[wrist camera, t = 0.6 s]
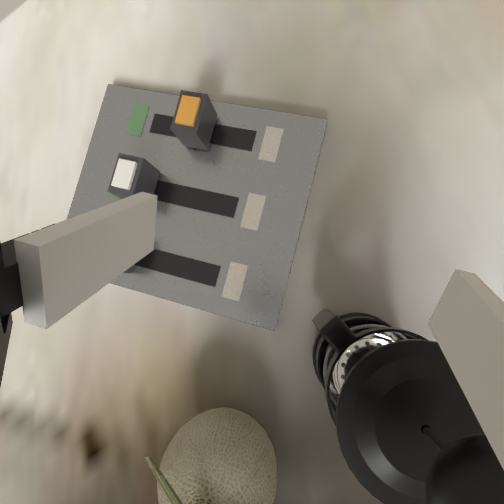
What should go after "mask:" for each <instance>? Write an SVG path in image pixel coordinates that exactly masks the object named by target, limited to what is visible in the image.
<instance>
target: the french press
mask: <svg viewBox="0 0 504 504" xmlns="http://www.w3.org/2000/svg"><path fill="white" fill-rule="evenodd" d="M312 321H313V323H314V325H315V326H316V328H317V330H318V331H319V335H318V336H317V338H316V341H315V344H314V349H313V364H314V368H315V372H316V374H317V377H318V379H319V381H320V382H321V384H322V385H323V387H324V389H325V394H326V400H327V403H328V407H329V411H330V414H331V417H332V419H333V421H334V423H335V425H336V430H337V435H338V439H339V443H340V447H341V451H342V453H343V455H344V457H345V459H346V462H347V464H348V466H349V468H350V469H351V471H352V472H353V474H354V475H355V476H356V478H357V479H358V481H359V482H360V483H361V484H362V485H363V486H364V487H365V488H366V489H367V490H368V491H369V492H370V493H371V494H372V495H373V496H374V497H376V498H377V499H378V500H380V501H381V502H383V503H384V504H504V470H503V468H502V466H501V464H500V462H499V460H498V458H497V456H496V454H495V452H494V450H493V449H492V447H491V445H490V443H489V441H488V439H487V437H486V435H485V433H484V431H483V429H482V427H481V425H480V423H479V421H478V420H477V418H476V416H475V414H474V412H473V410H472V408H471V406H470V404H469V402H468V400H467V398H466V396H465V394H464V392H463V391H462V389H461V387H460V385H459V383H458V381H457V379H456V377H455V375H454V373H453V371H452V369H451V367H450V365H449V363H448V361H447V360H446V358H445V356H444V354H443V352H442V350H441V348H440V346H439V344H438V342H434V341H429V340H427V339H425V338H423V337H422V336H420V335H417V334H414V333H412V332H409V331H406V330H403V329H399V328H393V327H391V326H390V325H388V324H387V323H386V322H384V321H382V320H381V319H379V318H377V317H374V316H371V315H369V314H363V313H349V314H345V315H341V316H339V317H338V316H337V315H335V314H333V313H332V312H330V311H328V310H327V309H324V310H323V311H321V312H320V313H319V314H318V315H317V316H316V317H315V318H314V319H313V320H312ZM350 326H355V327H352V328H350V329H349V327H350ZM328 344H330V345H331V346H330V347H329V349H328V351H327V354H326V349H327V346H328ZM325 356H326V357H325Z"/></svg>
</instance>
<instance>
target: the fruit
mask: <svg viewBox="0 0 504 504" xmlns="http://www.w3.org/2000/svg"><path fill="white" fill-rule="evenodd" d="M144 459H145V460H146V462H147V464H148V465H149V467H150V469H151V470H152V472H153V474H154V475H155V477H156V479H157V496H158V502H159V504H273V503H274V499H275V496H276V491H277V483H278V482H277V479H278V469H277V461H276V456H275V451H274V448H273V444H272V443H271V440H270V438H269V437H268V435H267V433H266V431H265V429H264V428H263V427H262V426H261V425H260V424H259V423H258V422H257V421H256V420H255V419H254V418H252V417H251V416H249V415H248V414H246V413H244V412H242V411H240V410H237V409H233V408H214V409H210V410H207V411H204V412H202V413H200V414H198V415H196V416H195V417H193V418H192V419H190V420H189V421H188V422H187V423H185V424H184V425H183V426H182V427H181V428H180V429H179V431H178V432H177V433H176V434H175V435H174V437H173V438H172V440H171V441H170V443H169V445H168V447H167V448H166V450H165V452H164V455H163V457H162V460H161V464H160V468H158V467H157V466H156V464H155V463H154V462H153V460H152V459H151V458H150V457H149V455H147V456H145V457H144Z"/></svg>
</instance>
